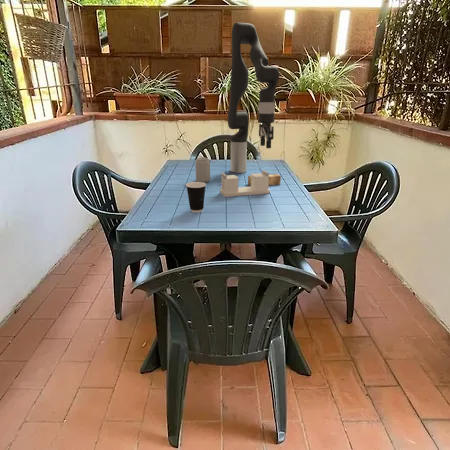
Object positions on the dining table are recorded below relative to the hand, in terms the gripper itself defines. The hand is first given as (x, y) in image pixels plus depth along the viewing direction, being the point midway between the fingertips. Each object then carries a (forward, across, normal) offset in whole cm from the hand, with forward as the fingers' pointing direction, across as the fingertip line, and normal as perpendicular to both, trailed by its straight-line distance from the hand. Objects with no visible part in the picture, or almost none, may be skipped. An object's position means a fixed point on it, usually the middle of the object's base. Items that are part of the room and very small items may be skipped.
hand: (265, 147), depth 171 cm
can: (+18, -14, -29) cm, 37 cm away
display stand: (+19, +12, -14) cm, 26 cm away
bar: (+19, 0, 0) cm, 19 cm away
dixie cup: (+19, +31, -40) cm, 54 cm away
